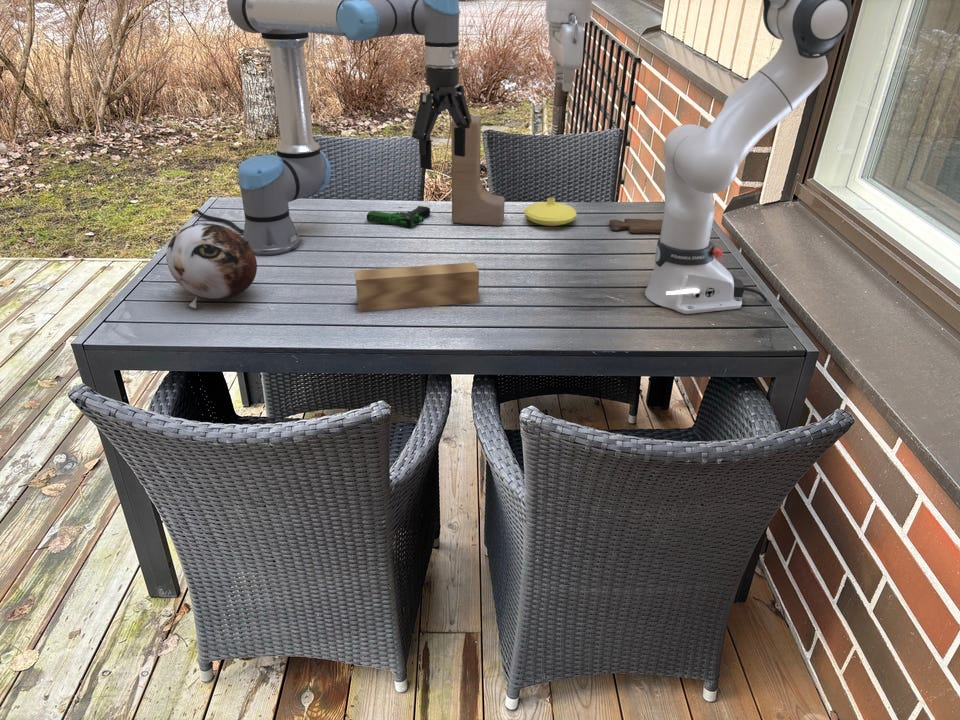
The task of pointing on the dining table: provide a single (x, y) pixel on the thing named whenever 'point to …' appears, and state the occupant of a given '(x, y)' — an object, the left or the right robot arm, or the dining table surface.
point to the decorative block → (472, 183)
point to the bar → (417, 286)
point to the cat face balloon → (211, 261)
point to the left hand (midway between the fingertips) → (443, 162)
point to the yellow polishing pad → (550, 213)
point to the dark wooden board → (637, 225)
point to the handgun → (400, 217)
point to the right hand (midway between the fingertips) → (563, 86)
